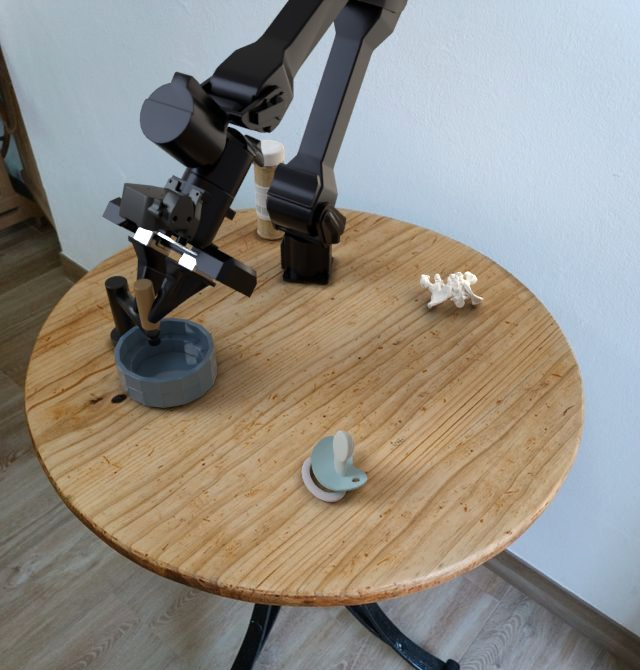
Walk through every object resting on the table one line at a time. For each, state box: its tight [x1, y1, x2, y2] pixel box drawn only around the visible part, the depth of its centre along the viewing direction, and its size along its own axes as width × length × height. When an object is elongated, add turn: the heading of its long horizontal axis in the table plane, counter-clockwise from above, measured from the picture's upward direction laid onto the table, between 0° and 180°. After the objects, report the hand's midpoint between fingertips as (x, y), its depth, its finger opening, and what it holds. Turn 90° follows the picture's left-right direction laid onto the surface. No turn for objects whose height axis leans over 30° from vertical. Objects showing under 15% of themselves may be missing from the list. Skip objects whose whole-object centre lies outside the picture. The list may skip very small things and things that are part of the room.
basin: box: [113, 317, 218, 409], centre depth 80 cm, size 11×11×4 cm
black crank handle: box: [104, 275, 161, 346], centre depth 79 cm, size 11×3×12 cm, turn 36°
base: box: [109, 327, 120, 348], centre depth 86 cm, size 4×4×1 cm
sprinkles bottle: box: [253, 139, 286, 241], centre depth 99 cm, size 5×5×14 cm
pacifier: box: [301, 430, 368, 503], centre depth 70 cm, size 7×6×6 cm
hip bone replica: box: [419, 271, 484, 309], centre depth 92 cm, size 8×4×7 cm
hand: (143, 317), depth 74 cm, fingers closed on black crank handle, 2 cm apart
